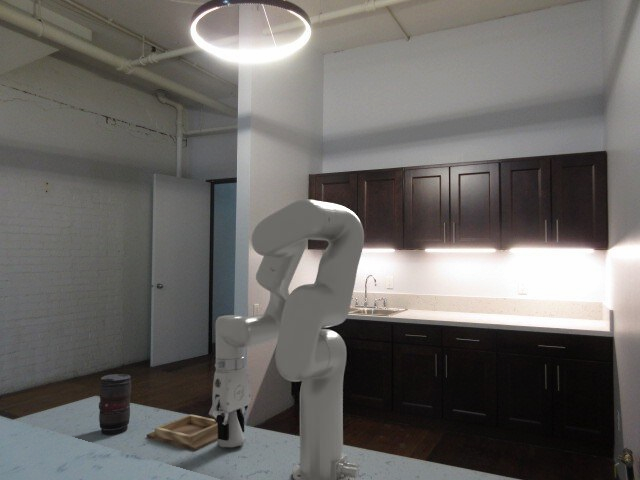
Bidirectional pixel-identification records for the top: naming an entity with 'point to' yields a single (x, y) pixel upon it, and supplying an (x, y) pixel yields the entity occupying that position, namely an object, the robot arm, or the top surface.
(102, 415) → the camera lens
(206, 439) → the shaker holder
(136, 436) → the top surface
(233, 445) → the flask
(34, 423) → the top surface
